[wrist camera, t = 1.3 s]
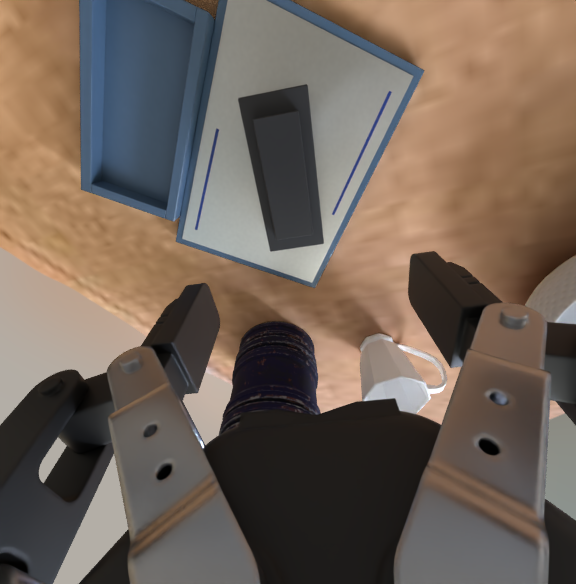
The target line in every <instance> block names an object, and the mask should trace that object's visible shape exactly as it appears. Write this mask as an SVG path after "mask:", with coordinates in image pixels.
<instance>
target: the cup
mask: <svg viewBox="0 0 576 584" xmlns="http://www.w3.org/2000/svg"><path fill="white" fill-rule="evenodd" d="M360 350H361V357H360V374H361V388H362V400H363V401H370V400H381V399H391V398H395V399H396V402H397V405H398V407H399V410H400V411H404V412H409V413H413V414H416V413H417V412H418V411H419V410H420V409H421V408H422V407H423V406H424V405H425V404H426V403H427V402H428V401H429V400H430V399H431V398H430V395H429V394H432V393H438V392H441V391H443V389H444V387H445V385H446V382H447V375H446V371H445V369H444V367H443V365H442V363H441V362H440V361H439V360H438V359H437V358H436V357H434V356H432V355H430V354H428V353H426V352H424V351H421V350H419V349H416V348H413V347H411V346H407V345H403V344H395V343H394V342H393V340H392V338H391V336H387V335H384V334H381V333H377V334H374V335H372V336H369V337H366V338H365V339H364V341H363V342H362V344H361V345H360ZM403 351H406V352H409V353H412V354H414V355H417V356H420V357H422V358H424V359H426V360H428V361H430V362H432V363H433V364H434V365H435V366H436V367H437V368H438V369H439V371H440V374H441V377H442V383H441V384H440V385H438V386H436V385H427V384H426V382H425V381H424V380H423V378H422V377H421V375H420V374H419V373H418V371H417V370H416V369H415V367H414V366H413V365H412V363H411V362H410V360H409V359H408V358H407V356H406V355H405V353H404V352H403Z"/></svg>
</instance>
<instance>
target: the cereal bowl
mask: <svg viewBox="0 0 576 584" xmlns="http://www.w3.org/2000/svg"><path fill="white" fill-rule="evenodd" d="M525 306H526V307H529V308H532V309H534V310H535V311H537V312H539V313H540V314H541V315H543V316H544V318H545V319H546V321H547V322H554V323H567V324H576V255H575V256H573V257H571V258H570V259H568V260H567V261H565V262H564V263H562V264H561V265H560V266H558V267H557V268H556V269H554V270H553V271H552V272H551V273H550V274H549V275H548V276H546V277H545V278H544V280H542V281H541V283H540V284H538V286H537V287H536V288H535V290H534V291H533V293H532V294H531V295H530V297H529V299H528V301H527V302H526V305H525Z"/></svg>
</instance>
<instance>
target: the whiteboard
mask: <svg viewBox="0 0 576 584" xmlns="http://www.w3.org/2000/svg"><path fill="white" fill-rule="evenodd" d="M423 73H424V70H423V69H421V68H419V67H417V66H415V65H413V64H411V63H409V62H408V61H406V60H404V59H402V58H400V57H398V56H396V55H394V54H392V53H390V52H388V51H386V50H385V49H383V48H381V47H379V46H377V45H375V44H373V43H371V42H369V41H367V40H365V39H364V38H362V37H360V36H358V35H356V34H354V33H352V32H350V31H348V30H346V29H344V28H343V27H341V26H339V25H337V24H335V23H333V22H331V21H329V20H327V19H325V18H323V17H321V16H320V15H318V14H316V13H314V12H312V11H310V10H308V9H306V8H304V7H302V6H300V5H299V4H297V3H295V2H293V1H291V0H219V1H218V7H217V13H216V18H215V24H214V29H213V35H212V41H211V46H210V52H209V57H208V63H207V69H206V74H205V80H204V85H203V91H202V97H201V102H200V108H199V113H198V119H197V125H196V130H195V136H194V141H193V147H192V153H191V158H190V164H189V169H188V175H187V181H186V186H185V192H184V197H183V203H182V209H181V214H180V220H179V225H178V231H177V237H176V242H178V243H181V244H184V245H187V246H190V247H193V248H196V249H199V250H202V251H205V252H208V253H211V254H214V255H217V256H220V257H223V258H226V259H229V260H232V261H235V262H238V263H241V264H244V265H247V266H250V267H253V268H256V269H259V270H262V271H265V272H268V273H271V274H274V275H277V276H280V277H283V278H286V279H289V280H292V281H295V282H298V283H301V284H304V285H307V286H310V287H313V288H315V287H316V285H317V283H318V281H319V279H320V277H321V275H322V273H323V271H324V269H325V267H326V265H327V263H328V261H329V259H330V257H331V255H332V253H333V251H334V249H335V247H336V246H337V244H338V242H339V240H340V238H341V236H342V234H343V232H344V230H345V228H346V226H347V224H348V222H349V220H350V218H351V216H352V214H353V212H354V210H355V208H356V206H357V204H358V202H359V200H360V198H361V196H362V194H363V192H364V190H365V188H366V186H367V184H368V182H369V180H370V178H371V176H372V174H373V172H374V170H375V168H376V166H377V164H378V162H379V160H380V158H381V156H382V154H383V152H384V150H385V148H386V146H387V144H388V142H389V140H390V138H391V136H392V134H393V132H394V130H395V128H396V126H397V124H398V122H399V120H400V118H401V116H402V114H403V112H404V110H405V108H406V106H407V104H408V102H409V100H410V98H411V96H412V94H413V93H414V91H415V89H416V87H417V85H418V83H419V81H420V79H421V77H422V75H423ZM305 84H307V85H308V92H309V102H310V112H311V122H312V131H313V141H314V151H315V160H316V170H317V180H318V190H319V199H320V209H321V219H322V229H323V238H324V244H320V245H313V246H306V247H299V248H292V249H286V250H279V251H272V252H271V251H270V248H269V244H268V239H267V234H266V229H265V225H264V220H263V215H262V211H261V206H260V201H259V197H258V192H257V187H256V182H255V178H254V173H253V168H252V164H251V159H250V154H249V149H248V145H247V140H246V135H245V131H244V126H243V121H242V117H241V112H240V107H239V102H238V98H240V97H245V96H250V95H255V94H260V93H265V92H270V91H275V90H280V89H285V88H290V87H295V86H300V85H305Z"/></svg>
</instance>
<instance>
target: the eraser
mask: <svg viewBox="0 0 576 584" xmlns="http://www.w3.org/2000/svg"><path fill="white" fill-rule="evenodd" d="M238 102H239V107H240V112H241V117H242V121H243V126H244V131H245V135H246V140H247V145H248V149H249V154H250V159H251V164H252V168H253V173H254V178H255V182H256V187H257V192H258V197H259V201H260V206H261V211H262V215H263V220H264V225H265V229H266V234H267V239H268V244H269V248H270V251H271V252H272V251H279V250H286V249H292V248H299V247H306V246H313V245H320V244H324V238H323V229H322V219H321V209H320V199H319V190H318V180H317V170H316V160H315V151H314V141H313V131H312V122H311V112H310V102H309V92H308V85H307V84H305V85H300V86H295V87H290V88H285V89H280V90H275V91H270V92H265V93H260V94H255V95H250V96H245V97H240V98H238Z"/></svg>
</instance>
